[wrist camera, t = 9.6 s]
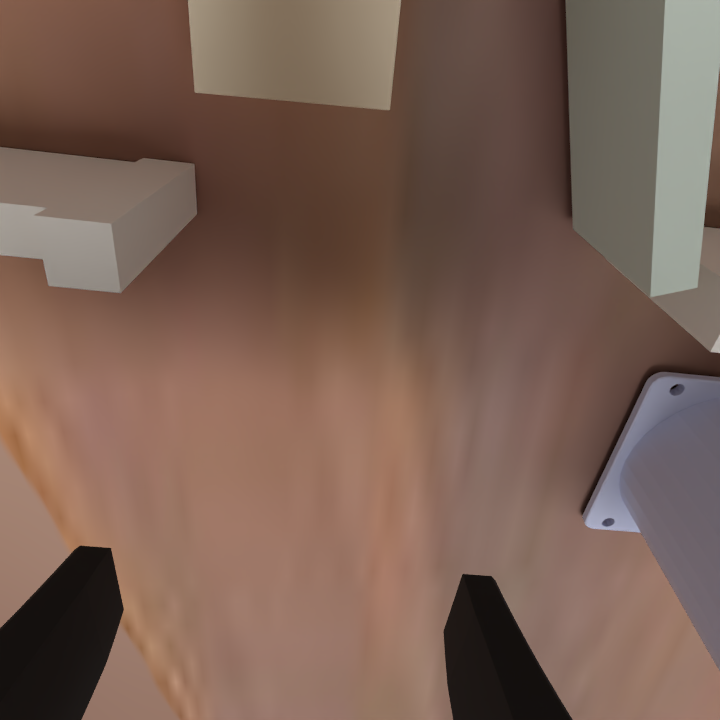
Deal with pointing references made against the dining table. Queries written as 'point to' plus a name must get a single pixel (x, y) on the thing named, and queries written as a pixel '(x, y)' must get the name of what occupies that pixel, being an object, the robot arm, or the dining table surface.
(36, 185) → the wall frame
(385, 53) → the birch block
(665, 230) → the door
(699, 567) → the robot arm
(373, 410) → the dining table surface
